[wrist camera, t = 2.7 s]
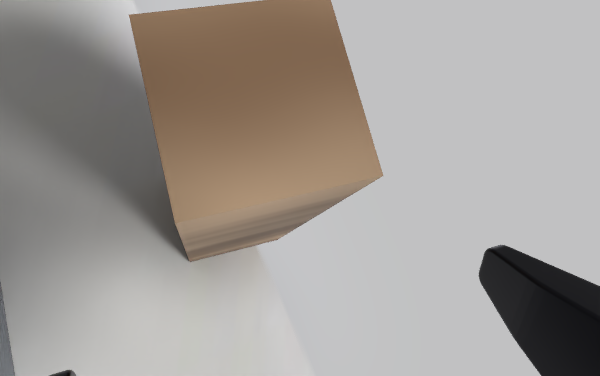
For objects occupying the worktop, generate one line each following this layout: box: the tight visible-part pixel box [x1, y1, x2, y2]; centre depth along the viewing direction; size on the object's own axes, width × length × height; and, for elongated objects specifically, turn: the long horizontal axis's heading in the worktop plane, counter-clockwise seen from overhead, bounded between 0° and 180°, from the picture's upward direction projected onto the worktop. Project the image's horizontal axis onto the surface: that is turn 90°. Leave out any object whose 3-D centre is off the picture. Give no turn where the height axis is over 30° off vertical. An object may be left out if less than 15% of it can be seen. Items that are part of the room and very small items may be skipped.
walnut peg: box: [129, 0, 383, 262], centre depth 14 cm, size 4×4×12 cm
